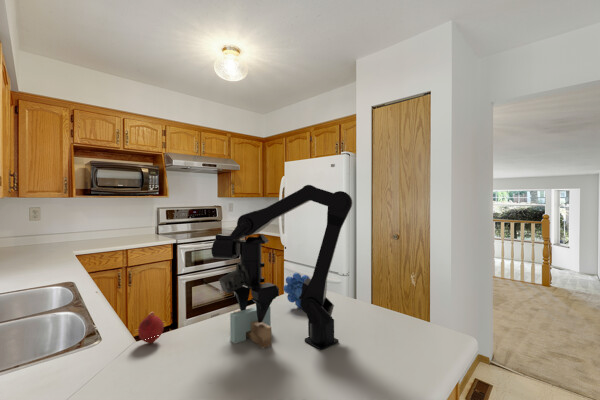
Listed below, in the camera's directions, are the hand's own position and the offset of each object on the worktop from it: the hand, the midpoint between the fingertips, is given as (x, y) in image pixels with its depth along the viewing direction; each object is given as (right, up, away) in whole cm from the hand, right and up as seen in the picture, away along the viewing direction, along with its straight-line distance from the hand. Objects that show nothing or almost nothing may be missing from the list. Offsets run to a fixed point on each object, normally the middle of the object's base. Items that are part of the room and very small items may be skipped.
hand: (251, 317), depth 79 cm
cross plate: (0, -5, 0) cm, 5 cm away
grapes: (+13, -5, +20) cm, 25 cm away
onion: (-25, -5, -4) cm, 26 cm away
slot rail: (0, -5, 0) cm, 5 cm away
